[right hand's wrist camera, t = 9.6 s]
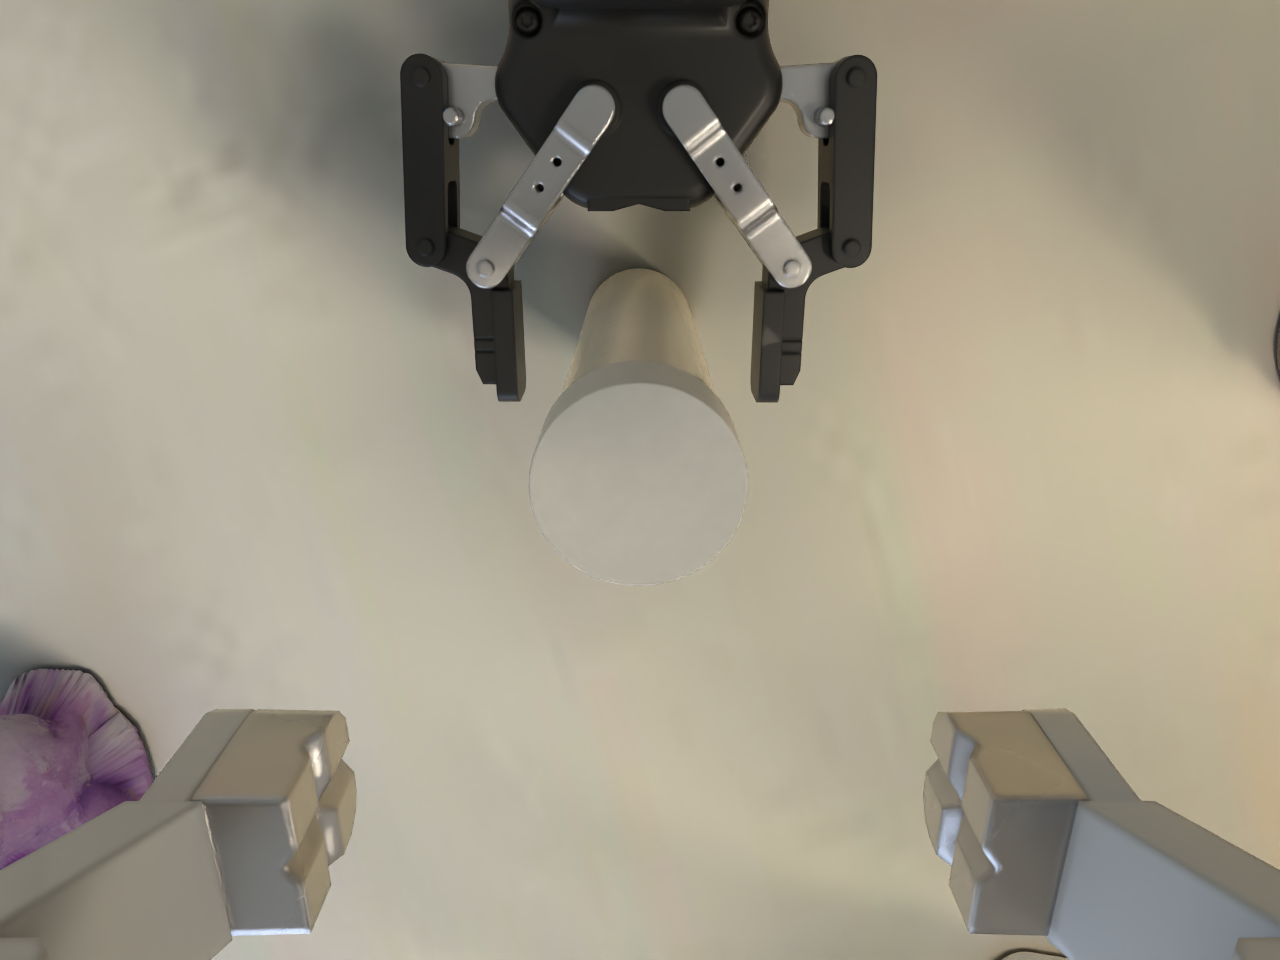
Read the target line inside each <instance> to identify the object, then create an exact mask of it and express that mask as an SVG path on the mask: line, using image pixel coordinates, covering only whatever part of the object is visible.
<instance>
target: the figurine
mask: <svg viewBox="0 0 1280 960" xmlns="http://www.w3.org/2000/svg"><path fill="white" fill-rule="evenodd" d="M153 782H154V781H153V778H152V774H151V770H150V765H149V761H148V758H147V754H146V751H145V747H144V745H143V743H142V740H141V738H140V736H139V734H138V732H137V728H136V727H135V726H134V725H132V724H131V722H130V721H129V720H128V719H127V718H126V717H125V716H124V715H123V714H122V713H121V712H120V711H119V710H118V709H117V708H115V707H114V706H113V703H112V702H111V701H110V700H109V699H108V698H107V694H106V693H105V692H104V691H103V688H102V686H101V685H100V684H99V683H98V682H97V681H96V680H95V679H94V677H93V676H92V675H90V674H89V673H83V672H82V671H80V670H78V671H76V670H71V671H70V670H69V669H68V670H66V671H65V670H64V669H62V670H58V669H55V670H53V669H49V670H48V669H41V668H40V669H37V670H30V671H28V672H24V673H23V674H21V675H20V676H18V677H17V678H16V679H15V680H14V681H13V682H12V684H11V685H10V687H9V688H8V691H7V693H6V695H5V697H4V699H3V700H1V701H0V870H1V869H3V868H5V867H7V866H9V865H10V864H12V863H14V862H16V861H18V860H19V859H21V858H23V857H25V856H27V855H29V854H30V853H32V852H34V851H36V850H38V849H39V848H41V847H43V846H45V845H47V844H48V843H50V842H52V841H54V840H56V839H58V838H59V837H61V836H63V835H65V834H67V833H68V832H70V831H72V830H74V829H76V828H77V827H79V826H81V825H83V824H85V823H87V822H88V821H90V820H92V819H94V818H96V817H97V816H99V815H101V814H103V813H105V812H106V811H108V810H110V809H112V808H114V807H116V806H117V805H119V804H121V803H123V802H125V801H139V800H140V799H141V797H142V796H143V795H144V793H145V792H146V791H147V790H148V788H149V787H150V786H151V784H152V783H153Z"/></svg>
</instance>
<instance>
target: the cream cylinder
mask: <svg viewBox="0 0 1280 960" xmlns="http://www.w3.org/2000/svg"><path fill="white" fill-rule="evenodd" d="M636 360H644V361H654V362H659V363H664V364H668V365H671V366H674V367H677V368H679V369H682V370H684V371H686V372H688V373H689V374H691V375H693V376H695V377H696V378H698V379H699V380H700V381H702V382H703V383H705V384H706V385H707V386H708V387H709V388H710V389H711V390H712V391H713V392H714V389H713V386H712V382H711V379H710V376H709V372H708V369H707V366H706V362H705V359H704V356H703V352H702V349H701V345H700V342H699V339H698V335H697V332H696V329H695V325H694V322H693V318H692V315H691V312H690V308H689V305H688V302H687V300H686V297H685V296H684V294H683V292H682V291H681V289H680V288H679V287H678V286H677V285H676V284H675V283H674V282H673V281H672V280H671V279H669V278H668V277H667V276H665V275H663V274H661V273H659V272H656V271H653V270H649V269H641V268H638V269H628V270H624V271H621V272H618V273H616V274H614V275H612V276H611V277H609V278H608V279H607V280H605V281H604V282H603V283H602V284H601V285H600V286H599V287H598V288H597V290H596V291H595V293H594V294H593V296H592V298H591V300H590V303H589V306H588V309H587V313H586V316H585V319H584V323H583V326H582V329H581V333H580V336H579V339H578V343H577V346H576V349H575V353H574V356H573V359H572V363H571V366H570V370H569V373H568V376H567V380H566V383H565V386H564V390H563V392H564V391H565V390H566V389H567V388H568V387H569V386H570V385H572V384H573V383H574V382H575V381H577V380H578V379H579V378H581V377H583V376H584V375H586V374H588V373H589V372H591V371H594V370H596V369H598V368H600V367H603V366H606V365H610V364H613V363H617V362H624V361H636Z"/></svg>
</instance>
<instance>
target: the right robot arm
mask: <svg viewBox="0 0 1280 960" xmlns="http://www.w3.org/2000/svg"><path fill="white" fill-rule="evenodd" d="M349 741H350V740H349V734H348V729H347V723H346V718H345V717H344V716H343V715H342V714H341V713H340V711H312V710H266V709H258V710H253V709H216V710H213V711H211V712H208V713H206V714H205V715H204V716H203V717H202V719H201V720H200V721H199V723H198V724H197V725H196V727H195V728H194V729H193V731H192V732H191V733H190V735H189V736H188V737H187V738H186V740H185V741H184V742H183V744H182V745H181V746H180V748H179V749H178V750H177V752H176V753H175V754H174V755H173V757H172V758H171V759H170V761H169V762H168V763H167V765H166V766H165V767H164V769H163V770H162V771H161V772H160V774H159V775H158V776H157V778H156V779H155V780H154V782H153V783H152V784H151V786H150V787H149V788H148V790H147V791H146V792H145V793H144V795H143V796H142V797H141V799H140V800H139V801H125V802H123V803H121V804H119V805H117V806H116V807H114V808H112V809H110V810H108V811H106V812H105V813H103V814H101V815H99V816H97V817H96V818H94V819H92V820H90V821H88V822H87V823H85V824H83V825H81V826H79V827H77V828H76V829H74V830H72V831H70V832H68V833H67V834H65V835H63V836H61V837H59V838H58V839H56V840H54V841H52V842H50V843H48V844H47V845H45V846H43V847H41V848H39V849H38V850H36V851H34V852H32V853H30V854H29V855H27V856H25V857H23V858H21V859H19V860H18V861H16V862H14V863H12V864H10V865H9V866H7V867H5V868H3V869H1V870H0V960H211V959H212V958H213V957H214V956H215V955H216V954H218V953H219V952H220V951H221V950H222V949H223V948H224V947H225V946H226V945H227V944H228V943H230V942H231V941H232V936H237V935H271V934H306V933H311V931H312V929H313V927H314V924H315V922H316V920H317V917H318V915H319V912H320V910H321V908H322V905H323V903H324V901H325V898H326V896H327V893H328V891H329V889H330V886H331V881H330V874H329V868H328V866H329V865H330V864H332V863H333V862H334V861H336V860H337V859H338V858H339V857H341V856H342V855H343V854H344V852H345V850H346V847H347V845H348V842H349V840H350V837H351V834H352V829H353V824H354V818H355V813H356V783H355V775H354V771H353V770H352V769H351V768H350V767H349V766H348V765H347V764H346V763H345V762H344V761H343V760H342V759H341V758H342V756H343V754H344V752H345V750H346V748H347V746H348V743H349ZM930 741H931V743H932V746H933V748H934V750H935V752H936V754H937V756H938V758H939V759H938V760H937V761H936V762H935V763H934V764H933V765H932V766H931V767H930V768H929V769H928V770H927V771H926V775H925V785H924V794H923V798H924V811H925V821H926V825H927V829H928V833H929V837H930V840H931V842H932V845H933V847H934V850H935V852H936V854H937V855H938V856H939V857H941V858H942V859H943V860H944V861H946V862H947V863H948V864H950V865H951V866H952V868H951V874H950V881H949V886H950V889H951V891H952V893H953V896H954V898H955V901H956V903H957V905H958V908H959V910H960V912H961V915H962V917H963V919H964V922H965V924H966V927H967V929H968V931H969V933H972V934H1007V935H1042V936H1048V940H1049V941H1050V942H1051V943H1052V944H1053V945H1054V946H1055V947H1056V948H1057V949H1059V950H1060V951H1061V952H1062V953H1063V954H1064V955H1065V956H1066V957H1067V958H1064V957H1058V956H1052V955H1046V954H1040V953H1034V952H1016V953H1013V954H1011V955H1008V956H1007V957H1005V958H1003V959H1002V960H1280V870H1278V869H1276V868H1275V867H1273V866H1271V865H1269V864H1267V863H1266V862H1264V861H1262V860H1260V859H1258V858H1257V857H1255V856H1253V855H1251V854H1249V853H1248V852H1246V851H1244V850H1242V849H1240V848H1239V847H1237V846H1235V845H1233V844H1231V843H1229V842H1228V841H1226V840H1224V839H1222V838H1220V837H1219V836H1217V835H1215V834H1213V833H1211V832H1210V831H1208V830H1206V829H1204V828H1202V827H1201V826H1199V825H1197V824H1195V823H1193V822H1192V821H1190V820H1188V819H1186V818H1184V817H1183V816H1181V815H1179V814H1177V813H1175V812H1173V811H1172V810H1170V809H1168V808H1166V807H1164V806H1163V805H1161V804H1159V803H1157V802H1155V801H1141V800H1140V799H1139V797H1138V796H1137V795H1136V794H1135V792H1134V791H1133V790H1132V788H1131V787H1130V786H1129V784H1128V783H1127V782H1126V780H1125V779H1124V778H1123V777H1122V775H1121V774H1120V773H1119V771H1118V770H1117V769H1116V767H1115V766H1114V765H1113V764H1112V762H1111V761H1110V760H1109V758H1108V757H1107V756H1106V754H1105V753H1104V752H1103V751H1102V749H1101V748H1100V747H1099V745H1098V744H1097V743H1096V741H1095V740H1094V739H1093V738H1092V736H1091V735H1090V734H1089V732H1088V731H1087V730H1086V728H1085V727H1084V726H1083V724H1082V723H1081V722H1080V721H1079V719H1078V718H1077V717H1076V715H1075V714H1074V713H1072V712H1070V711H1068V710H1067V709H1037V710H1022V711H989V712H938V713H937V715H936V718H935V720H934V722H933V727H932V733H931V740H930Z"/></svg>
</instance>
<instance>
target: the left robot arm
mask: <svg viewBox="0 0 1280 960" xmlns="http://www.w3.org/2000/svg"><path fill="white" fill-rule="evenodd" d="M768 7H769V0H509V19H510V27H509V37H508V42H507V46H506V49H505V52H504V55H503V57H502V59H501V61H500V63H499V65H498V66H484V65H469V64H454V63H445V62H443V61H441V60H438V59H435V58H433V57H430V56H428V55H425V54H414V55H412V56H410V57H408V58H407V59H406V60H405V61H404V63H403V65H402V67H401V72H400V81H401V111H402V140H403V170H404V200H405V229H406V249H407V253H408V255H409V257H410V258H411V259H412V260H413V261H414V262H415V263H416V264H418V265H420V266H423V267H431V266H432V267H435V268H438V269H441V270H443V271H446V272H449V273H452V274H454V275H456V276H458V277H460V278H461V279H462V280H463V281H464V282H465V283H466V285H467V286H468V288H469V290H470V293H471V301H472V316H473V331H474V345H475V360H476V370H477V372H478V374H479V376H480V378H481V381H482V383H483V384H496V385H497V397H498V401H521V398H522V396H523V394H524V392H525V387H526V368H525V347H524V327H523V306H522V285H521V280H514V266H515V265H516V264H517V262H518V261H519V259H520V258H521V256H522V255H523V254H524V252H525V251H526V249H527V248H528V246H529V245H530V243H531V242H532V241H533V239H534V238H535V236H536V235H537V233H538V232H539V231H540V229H541V228H542V226H543V225H544V224H545V222H546V221H547V220H548V218H549V217H550V215H551V214H552V213H553V211H554V210H555V208H556V207H557V205H558V204H559V203H560V201H561V200H562V198H563V197H564V195H565V196H566V197H567V198H568V199H570V200H571V201H572V202H574V203H576V204H577V205H580V206H582V207H585V208H588V211H615V210H618V209H622V208H625V207H629V206H632V205H636V204H642V205H645V206H649V207H652V208H656V209H660V210H663V211H690V208H693V207H696V206H698V205H700V204H702V203H704V202H705V201H707V200H708V199H709V198H711V197H712V196H714V197H715V199H716V200H717V201H718V203H719V204H720V206H721V207H722V209H723V210H724V211H725V213H726V214H727V216H728V217H729V219H730V220H731V221H732V223H733V224H734V225H735V227H736V228H737V229H738V231H739V232H740V234H741V235H742V237H743V238H744V239H745V241H746V242H747V244H748V245H749V247H750V248H751V249H752V251H753V252H754V254H755V255H756V257H757V258H758V259H759V261H760V262H761V264H762V265H763V272H762V281H755V293H754V315H753V337H752V358H751V391H752V394H753V396H754V398H755V400H756V402H778V400H779V393H780V385H793V384H794V382H795V380H796V378H797V376H798V374H799V372H800V366H801V351H802V336H803V321H804V306H805V295H806V292H807V289H808V287H809V286H810V284H811V283H812V282H813V281H814V280H815V279H817V278H818V277H820V276H822V275H824V274H827V273H830V272H833V271H835V270H838V269H841V268H844V267H847V268H854V267H857V266H860V265H861V264H863V263H864V262H865V261H866V260H867V259H868V257H869V255H870V252H871V247H872V218H873V187H874V156H875V125H876V94H877V71H876V67H875V65H874V63H873V62H872V61H871V60H870V59H869V58H867V57H865V56H862V55H853V56H848V57H844V58H842V59H839V60H837V61H835V62H834V63H822V64H807V65H792V66H779V64H778V62H777V60H776V58H775V56H774V53H773V51H772V47H771V44H770V40H769V34H768ZM495 101H498V102H499V105H500V107H501V109H502V110H503V112H504V113H505V114H506V116H507V117H508V119H509V120H510V121H511V123H512V124H513V125H514V127H515V128H516V130H517V131H518V132H519V134H520V135H521V137H522V138H523V139H524V141H525V142H526V143H527V145H528V146H529V148H530V149H531V150H532V152H533V153H534V155H535V158H534V159H533V161H532V162H531V164H530V165H529V166H528V168H527V169H526V171H525V172H524V174H523V175H522V177H521V178H520V180H519V181H518V183H517V184H516V186H515V187H514V189H513V190H512V192H511V193H510V195H509V196H508V198H507V199H506V201H505V202H504V204H503V206H502V208H501V210H500V212H499V213H498V215H497V216H496V218H495V219H494V221H493V222H492V224H491V225H490V227H489V228H488V230H487V231H486V233H485V234H484V236H483V237H482V236H480V235H477V234H474V233H471V232H469V231H466V230H463V229H461V228H460V181H459V138H468V137H470V136H472V135H473V134H474V133H475V132H476V131H477V129H478V127H479V124H480V117H481V114H482V112H483V110H484V108H485V107H486V106H487V105H488V104H490V103H492V102H495ZM779 101H783V102H786V103H788V104H789V105H790V106H792V108H793V109H794V110H795V112H796V115H797V120H798V125H799V128H800V130H801V131H802V133H804V134H805V135H806V136H808V137H810V138H819V145H818V229H816V230H813V231H810V232H807V233H805V234H802V235H799V236H797V237H795V236H794V234H793V233H792V231H791V230H790V229H789V227H788V226H787V224H786V223H785V221H784V220H783V218H782V217H781V215H780V214H779V212H778V210H777V208H776V206H775V204H774V203H773V201H772V200H771V198H770V197H769V195H768V194H767V192H766V191H765V189H764V188H763V186H762V185H761V183H760V182H759V180H758V179H757V177H756V176H755V174H754V173H753V171H752V170H751V168H750V167H749V165H748V164H747V162H746V161H745V159H744V158H743V157H742V155H743V154H744V153H745V151H746V150H747V148H748V147H749V146H750V144H751V143H752V141H753V140H754V139H755V137H756V136H757V135H758V133H759V132H760V130H761V129H762V128H763V126H764V125H765V123H766V122H767V121H768V119H769V118H770V116H771V115H772V114H773V112H774V111H775V109H776V108H777V106H778V104H779ZM1277 361H1278V368H1279V373H1280V328H1279V332H1278V340H1277Z"/></svg>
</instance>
